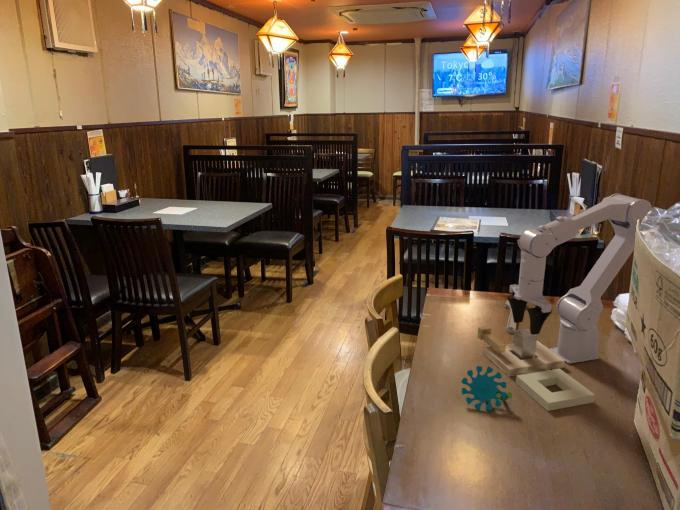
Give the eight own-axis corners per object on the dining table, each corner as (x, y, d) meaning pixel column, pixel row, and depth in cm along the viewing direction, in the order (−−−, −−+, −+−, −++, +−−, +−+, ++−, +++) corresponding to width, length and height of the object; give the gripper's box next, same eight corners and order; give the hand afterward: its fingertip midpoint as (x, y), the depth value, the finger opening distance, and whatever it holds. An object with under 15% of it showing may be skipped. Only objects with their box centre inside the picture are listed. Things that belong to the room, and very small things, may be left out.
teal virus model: (454, 399, 112) (468, 358, 115) (456, 405, 117) (469, 366, 120) (504, 418, 108) (518, 375, 111) (504, 424, 112) (516, 382, 116)
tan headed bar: (487, 335, 138) (488, 326, 137) (507, 351, 129) (508, 341, 129) (477, 337, 138) (478, 327, 137) (496, 353, 129) (497, 342, 128)
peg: (524, 356, 134) (527, 328, 132) (534, 363, 130) (537, 335, 128) (511, 358, 133) (514, 330, 131) (520, 365, 129) (523, 337, 127)
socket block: (535, 346, 139) (536, 339, 139) (564, 367, 128) (565, 360, 127) (483, 354, 135) (483, 347, 135) (508, 376, 124) (509, 369, 124)
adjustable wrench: (514, 336, 147) (515, 330, 146) (492, 331, 150) (492, 326, 149) (526, 305, 168) (527, 300, 167) (506, 302, 171) (507, 297, 170)
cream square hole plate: (558, 375, 124) (559, 368, 124) (593, 402, 113) (594, 394, 113) (515, 382, 121) (516, 375, 121) (547, 410, 110) (548, 403, 110)
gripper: (501, 270, 131) (496, 318, 135) (535, 289, 117) (529, 342, 121) (524, 267, 132) (520, 315, 136) (561, 286, 119) (554, 338, 123)
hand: (526, 327), depth 129 cm, fingers open, 7 cm apart
